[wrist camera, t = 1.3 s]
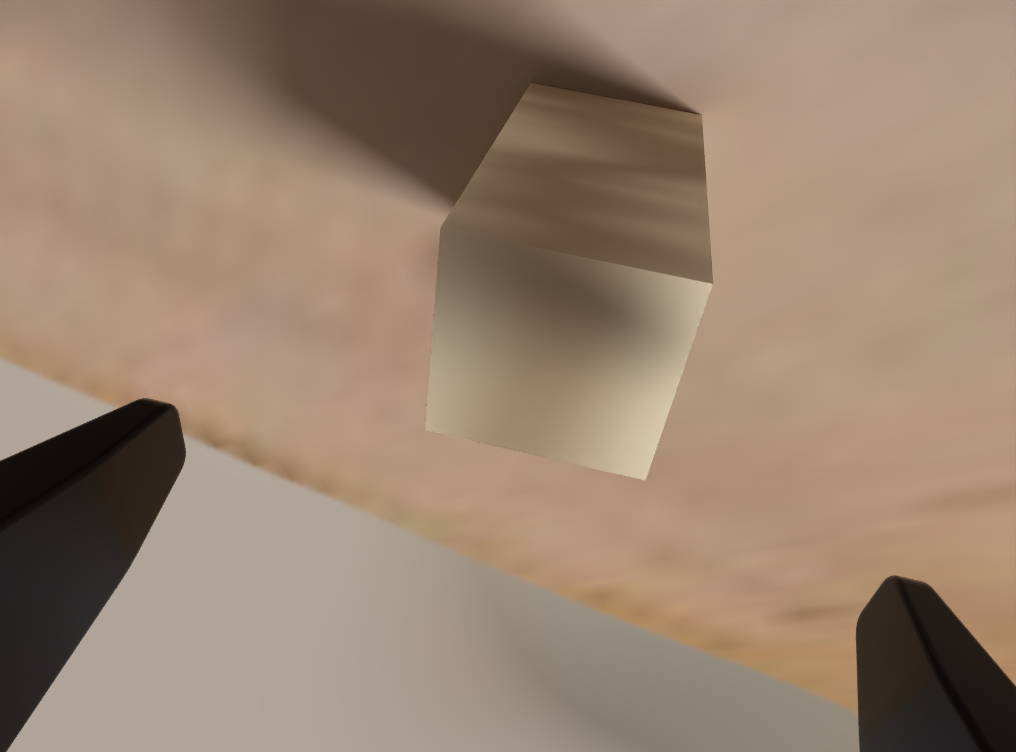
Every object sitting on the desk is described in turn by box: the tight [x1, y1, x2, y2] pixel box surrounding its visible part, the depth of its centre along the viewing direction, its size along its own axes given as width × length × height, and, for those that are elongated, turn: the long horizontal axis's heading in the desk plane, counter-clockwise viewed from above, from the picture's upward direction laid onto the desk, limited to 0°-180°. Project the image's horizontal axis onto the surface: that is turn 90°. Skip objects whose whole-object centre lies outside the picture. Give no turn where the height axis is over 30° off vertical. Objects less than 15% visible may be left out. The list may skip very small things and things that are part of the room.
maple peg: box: [425, 83, 713, 480], centre depth 15 cm, size 4×4×8 cm
